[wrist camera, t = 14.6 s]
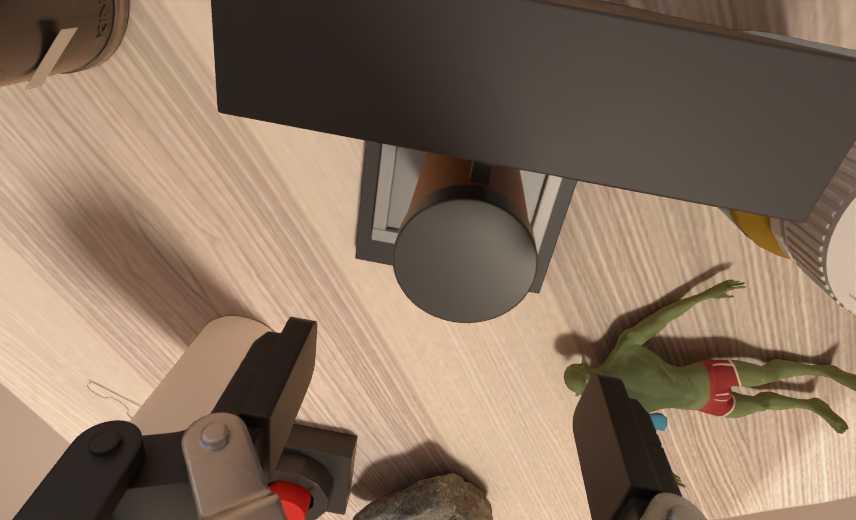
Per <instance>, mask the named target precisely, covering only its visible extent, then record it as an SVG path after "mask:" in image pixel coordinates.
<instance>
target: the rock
mask: <svg viewBox="0 0 856 520" xmlns="http://www.w3.org/2000/svg"><path fill="white" fill-rule="evenodd" d="M353 520H493V518H492V508H491V504H490V502H489V501H488V500H487V498H486V496H485V494H484V493H483V492H482V491H481V490H479V489H478V488H476V487H475V486H474V485H473V484H471V483H469V482H464V480H463V478H462V477H460V476H458V475H456V474H454V473H449V474H446V475H442V476H436V477H433V478H428V479H424V480H419V481H417V482H416V483H414V484H412V485H411V486H410V487H408V488H406V489H404V490H401V491H397V492H395V493H392V494H389V495H387V496H383V497H381V498H379V499H377V500H375V501H373V502H371V503H370V504H368V505H367V506H365V507H364V508H363V509H362V510H361V511H359V512H358V513H357V514H356V515H355V516H354V518H353Z"/></svg>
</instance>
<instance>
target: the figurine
mask: <svg viewBox="0 0 856 520" xmlns="http://www.w3.org/2000/svg"><path fill="white" fill-rule="evenodd" d="M727 282H728V283H727ZM738 282H740V281H734V280H726V281H723V282H722V283H719V284H717V285H715V286H713V287H712V288H710V289H708V290H706V291H704V292H702V293H699V294H697V295H694V296H691V297H688V298H685V299H682V300H679V301H676V302H674V303H672V304H669V305H667V306H664V307H663V308H661V309H660V310H658V311H657V312H655V313H653V314H652V315H650V316H648V317H647V318H645V319H643V320H642V321H640V322H638V323H637V324H636V325H635V326H634V327H631V328H628V329H626V330H624V331H623V332H622V333H621V334H620V335H619V337H618V340H617V344H616V346H615V348H614V349H613V350H612V351H611V353H610V354H609V356H608V358H607V359H606V361H605V362H604V363H603V364H602V365H601V366H600V367H598V368H590V367H588V365H587V362H586V359H585V357H584V356H582V364H571V365H570V366H569V367H567V369H566V370H565V373H564V380H565V384H566V385H567V387H568V388H569V389H570V390H571V391H573V392H576V396H579V395H582V393H583V391H584V389H585V387H586V385H587V383H588V380H589V378H590V376H591V375H592V374H594V373H596V374H601V375H607V376H612V377H618V378H621V379H622V381H623V383H624V385H625V388H626V391H627V394H628V396H629V398H631V399H637V400H638V401H639V402H640V404H641V405H642V406H643V407H644V408H645V410H646V411H647V412H648V413H649V412H651V411H655V410H658V409H664V408H676V409H686V410H697V411H701V412H704V413H707V414H710V415H713V416H716V417H729V418H738V417H742V416H746V415H749V414H752V413H754V412H757V411H764V410H767V409H769V410H783V409H791V408H803V409H808V410H811V411H813V412H815V413H817V414H819V415H820V416H821V417H822V418H824V419H825V420H826V421H827V422H828V423H829V424H830V426H831V427H832V428H834V430H835V431H836V432H837V433H841V434H843V433H844V432H845V430H847V429H848V426H847V424H846V422H845V421H844V420H843V419H842V418H841V417H839V416H838V415H837V414H836V413H834V412H833V411H832V409H831V408H830V407H829V405H828V404H827V403H825V402H824V401H822V400H821V399H819V398H812V399H796V398H791V397H786V396H782V395H779V394H777V393H774V392H761V393H758V394H757V395H755V396H748V395H742V394H739V393H736V392H732V390H731V388H730V387H732V386H741V387H752V386H759V385H763V384H766V383H770V382H776V381H778V380H779V379H782V378H788V377H792V376H801V375H814V376H824V377H828V378H832V379H833V380H835V381H837V382H839V383H841V384H842V385H845V386H847V387H849V388H851V389H853V390H855V391H856V375H854V374H851V373H847V372H845V371H842V370H841V369H839V368H838V367H836V366H833V365H825V364H823V365H807V364H802V363H798V362H793V361H787V360H782V359H773V360H771V361H769V362H768V363H766V364H765V365H764V366H759V365H755V364H752V363H748V362H744V361H738V360H713V359H709V360H702V361H698V362H694V363H691V364H689V365H687V366H684V367H676V366H673V365H670V364H668V363H666V362H664V361H663V360H661V359H660V358H659V356H658V355H657V354H655V353H653V352H652V351H650V350H649V349H647V348H645V347H644V346H643V344H644V343H645V342H646V341H647V340H648V339H650V338H651V337H652V336H654V335H655V334H657V333H658V332H659V331H661V330H662V329H663V328H664V327H665V326H666V325H667V324H668V323H669V322H670V321H672V320H673V319H675V318H677V317H679V316H681V315H682V314H684V313H685V312H686V311H687V310H688V309H690V308H691V307H692V306H693V305H694V304H696V303H698V302H700V301H703V300H705V299H708V298H716V299H720V298H731V297H734V296H728V295H726V292H727V291H729V290H733V289H737V288H745V286H738V287H732V286H737V285H743V284H745V283H744V282H743V283H738ZM734 283H735V284H734ZM649 414H650V413H649ZM650 416H651V419H652V421H653V424H654V427H655V429H656V430H663V431H664V430H665V428H666V427H667V417H665V416H664V415H663V414H661V413H654V414H650ZM673 475H674V477H675V480H676V482H677V481H680V482H681V480H679V479H680V477H678V476H677V475H675V474H674V473H673ZM676 478H678V479H676ZM680 482H677V485H679V486H681V487H685V485H684V484H682V483H680ZM685 488H686V487H685Z"/></svg>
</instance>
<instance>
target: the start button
mask: <svg viewBox="0 0 856 520" xmlns="http://www.w3.org/2000/svg"><path fill="white" fill-rule="evenodd" d="M269 488H270V490H271V492H272V493H273V492H276V493H277V495H278V496H279V498H280V501H281V503H282V506H283V508H284V511H285V513H286V516H287V519H288V520H305V517H306V514H307V511H308V508H309V505H310V502H311V494H310V493H309V491H308V490H307V489H305V488H304V487H302V486H300V485H298V484H296V483H292V482H287V481H276V482H274V483H272V484H271V485H270V486H269Z"/></svg>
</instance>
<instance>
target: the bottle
mask: <svg viewBox="0 0 856 520" xmlns="http://www.w3.org/2000/svg"><path fill="white" fill-rule="evenodd" d="M740 31H741V32H745V33H750V34H754V35H759V36H763V37H768V38H772V39H776V40H781V41H785V42H790V43H794V44H799V45H803V46H808V47H812V48H816V49H821V50H825V51H830V52H834V53H839V54H843V55H848V56H852V57H856V50H852V49H847V48H842V47H837V46H832V45H827V44H822V43H817V42H812V41H807V40H803V39H798V38H793V37H788V36H783V35H778V34H773V33H766V32H759V31H750V30H740ZM718 208H719V209H720V210H721V211H722V212H723V213H724V214H725V215H726V216H727V217H728V218H729V219H730V220H731V221H732V222H733V223H734V224H735V225H736V226H737V227H738V228H739V229H740V230H741V231H742V232H743V233H744V234H745V235H746V236H747V237H749V238H750V239H751V240H752V241H753V242H754V243H756V244H757V245H758V246H760V247H761V248H763V249H766V250H768V251H770V252H772V253H774V254H776V255H778V256H781V257H784V258H788V259H791V260H793V261H794V262H795V263H796V264H797V265H798V266H799V267H800V268H801V269H802V271H803V272H804V273H805V274H806V275H807V276H809V277H810V278H811V279H812V280H813V281H814V282H815V283H816V284H817V285H818V286H819V287H820V288H821V289H823V290H824V291H825V292H826V293H827V294H828V295H829V296H830V297H831V298H832V299H833V300H834V301H835V302H836V303H838V304H839V305H840V306H841V307H843V308H844V309H846V310H849V311H850V312H851V313H852V314H855V315H856V141H855V142H854V144H853V146H852V147H851V149H850V150H849V152H848V154H847V155H846V157H845V158H844V160H843V162H842V163H841V165H840V166H839V168H838V170H837V171H836V173H835V174H834V176H833V178H832V179H831V181H830V182H829V184H828V186H827V187H826V189H825V190H824V192H823V194H822V195H821V197H820V198H819V200H818V202H817V203H816V205H815V206H814V208H813V210H812V211H811V213H810V214H809V216H808V218H807V219H806V221H805V222H804V223H799V222H793V221H788V220H783V219H778V218H772V217H767V216H762V215H756V214H751V213H746V212H741V211H735V210H730V209H725V208H720V207H718Z"/></svg>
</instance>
